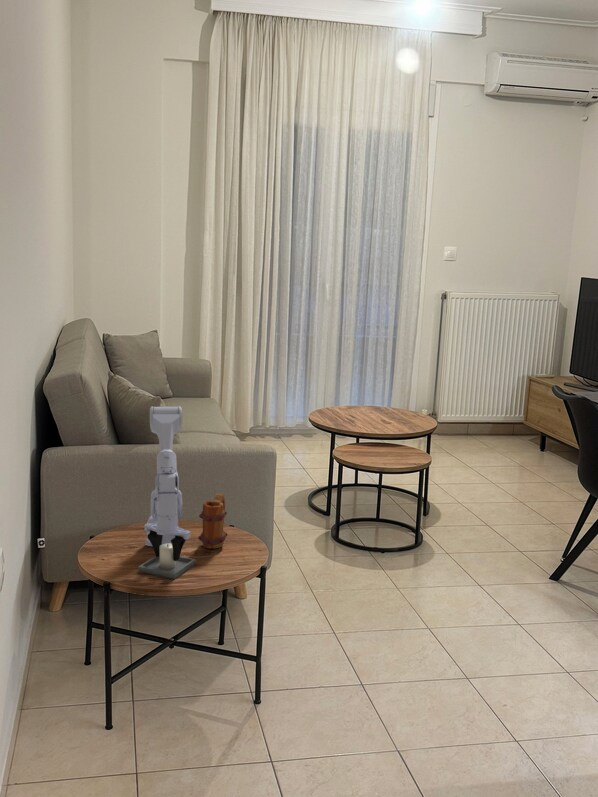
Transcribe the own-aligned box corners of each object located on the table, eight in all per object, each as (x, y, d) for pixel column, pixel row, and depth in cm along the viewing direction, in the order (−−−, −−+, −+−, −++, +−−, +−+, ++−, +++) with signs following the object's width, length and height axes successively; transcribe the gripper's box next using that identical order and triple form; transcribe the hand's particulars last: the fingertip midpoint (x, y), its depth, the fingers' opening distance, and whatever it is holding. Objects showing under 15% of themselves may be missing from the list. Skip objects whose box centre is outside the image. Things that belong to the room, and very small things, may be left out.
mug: (220, 553, 248) (221, 507, 245) (195, 550, 250) (195, 504, 247) (234, 536, 262) (234, 492, 259) (210, 533, 264) (210, 489, 261)
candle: (156, 566, 236) (156, 544, 234) (167, 561, 240) (167, 539, 238) (168, 570, 233) (168, 548, 232) (179, 565, 237) (179, 543, 236)
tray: (138, 571, 233) (138, 566, 233) (161, 556, 244) (161, 551, 244) (173, 579, 229) (173, 574, 228) (195, 564, 239) (195, 559, 239)
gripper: (138, 513, 232) (138, 557, 235) (181, 522, 227) (181, 567, 229) (152, 506, 238) (152, 549, 241) (194, 514, 233) (194, 558, 236)
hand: (167, 557), depth 236 cm, fingers open, 6 cm apart
